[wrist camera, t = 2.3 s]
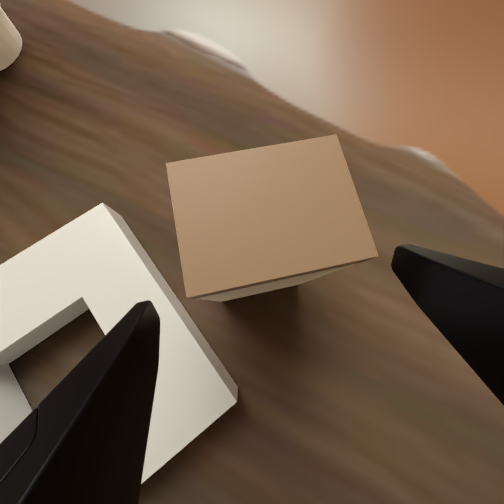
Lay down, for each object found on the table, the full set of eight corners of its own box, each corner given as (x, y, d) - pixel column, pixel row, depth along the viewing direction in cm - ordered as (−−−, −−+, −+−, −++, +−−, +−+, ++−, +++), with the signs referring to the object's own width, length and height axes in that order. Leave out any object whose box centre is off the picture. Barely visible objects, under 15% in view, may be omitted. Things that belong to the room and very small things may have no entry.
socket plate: (237, 387, 16) (236, 402, 14) (20, 571, 13) (-30, 630, 11) (121, 215, 19) (102, 202, 16) (-82, 343, 16) (-140, 350, 14)
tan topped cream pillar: (297, 284, 18) (378, 256, 7) (222, 301, 17) (186, 297, 7) (283, 231, 19) (336, 134, 8) (211, 245, 18) (165, 163, 8)
